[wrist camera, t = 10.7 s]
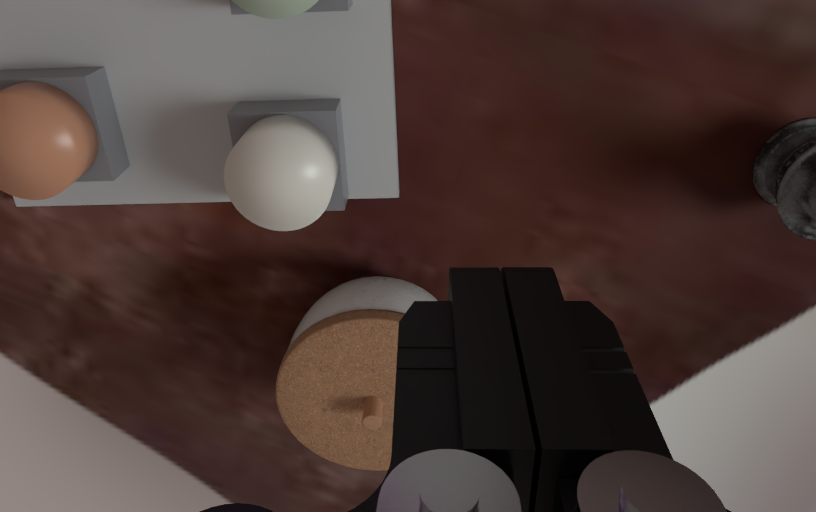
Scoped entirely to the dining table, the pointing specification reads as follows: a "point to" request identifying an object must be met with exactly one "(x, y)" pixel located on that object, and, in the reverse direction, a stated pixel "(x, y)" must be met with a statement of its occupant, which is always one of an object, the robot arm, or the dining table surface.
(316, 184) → the ivory button
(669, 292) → the dining table surface
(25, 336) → the dining table surface
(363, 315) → the lidded jar
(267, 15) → the sage button
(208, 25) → the panel
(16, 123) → the rust button
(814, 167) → the dark chess piece
